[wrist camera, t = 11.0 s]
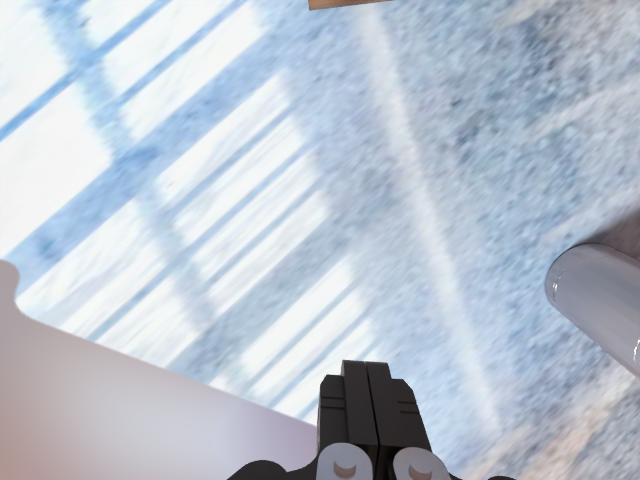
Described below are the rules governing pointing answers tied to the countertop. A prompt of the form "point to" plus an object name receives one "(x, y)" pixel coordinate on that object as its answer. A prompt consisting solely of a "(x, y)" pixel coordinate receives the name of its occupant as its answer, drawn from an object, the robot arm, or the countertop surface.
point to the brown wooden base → (337, 3)
